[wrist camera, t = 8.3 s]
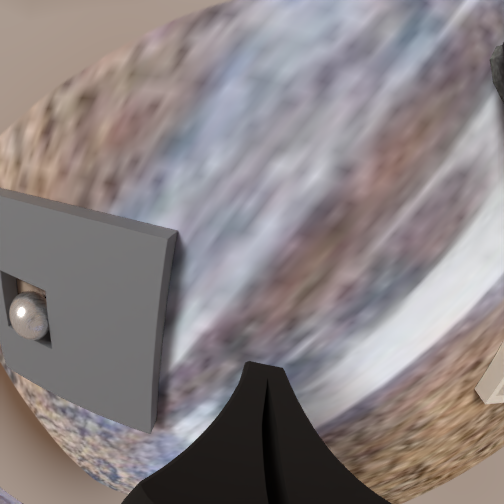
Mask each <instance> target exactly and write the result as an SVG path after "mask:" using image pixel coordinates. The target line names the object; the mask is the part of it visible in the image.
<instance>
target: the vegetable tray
mask: <svg viewBox="0 0 504 504" xmlns="http://www.w3.org/2000/svg"><path fill="white" fill-rule="evenodd" d="M475 390H476V392H477V393H478V395H479V396H480V398H481V399H482V400H483V402H484V403H485V404H493V403H504V341H503V343H502V344H501V346H500V348H499V350H498V352H497V353H496V355H495V357H494V359H493V360H492V362H491V364H490V365H489V367H488V369H487V370H486V372H485V373H484V375H483V377H482V378H481V380H480V381H479V383H478V384H477V386H476V387H475Z"/></svg>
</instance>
